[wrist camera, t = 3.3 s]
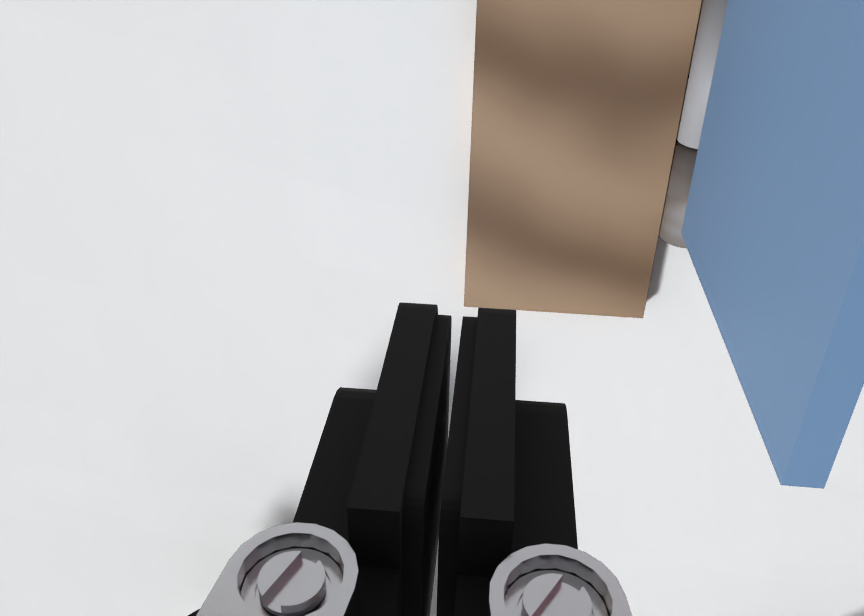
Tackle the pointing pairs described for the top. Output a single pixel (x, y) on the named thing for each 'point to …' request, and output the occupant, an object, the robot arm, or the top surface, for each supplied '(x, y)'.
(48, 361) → the top surface
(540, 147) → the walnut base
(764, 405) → the hinged blue panel
